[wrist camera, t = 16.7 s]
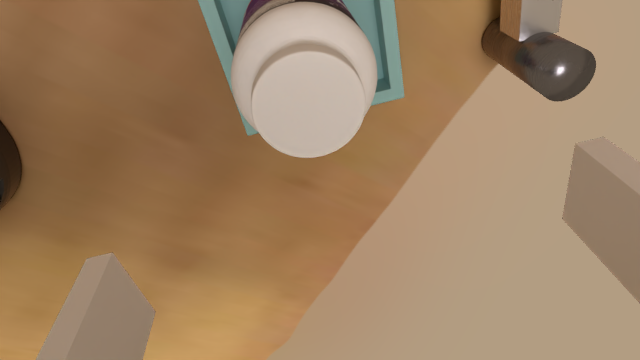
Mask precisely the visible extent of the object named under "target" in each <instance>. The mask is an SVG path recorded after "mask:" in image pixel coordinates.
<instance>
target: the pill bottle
mask: <svg viewBox="0 0 640 360" xmlns="http://www.w3.org/2000/svg"><path fill="white" fill-rule="evenodd" d="M231 86H232V91H233V96H234V99H235V101H236V104H237V106H238V108H239V110H240V112H241V113H242V115H243V116H244V118H245V119H246V120H247V122H248V123H249V124H250V125H251V126H252V127H253V128H254V129H255V130H256V131H257V132H259V133H260V135H261V136H262V138H263V139H264V140H265V141H266V142H267V143H268V144H269V145H271V146H272V147H273V148H275V149H276V150H278V151H280V152H282V153H284V154H287V155H290V156H294V157H300V158H314V157H320V156H324V155H327V154H330V153H332V152H335V151H336V150H338V149H340V148H341V147H343V146H344V145H345V144H347V143H348V142H349V141H350V140H351V139H352V138H353V137H354V135H355V134H356V132H357V131H358V129H359V128H360V126H361V124H362V121H363V118H364V116H365V115H366V113H367V111H368V110H369V108H370V106H371V103H372V101H373V98H374V95H375V91H376V86H377V63H376V58H375V55H374V51H373V49H372V46H371V44H370V42H369V41H368V39H367V37H366V35H365V34H364V32H363V31H362V29H361V28H360V26H359V25H358V24H357V22H356V21H355V19H354V18H353V16H352V14H351V13H350V11H349V10H348V9H347V7H346V6H345V4H344V3H343V1H342V0H251V1H250V3H249V5H248V7H247V9H246V12H245V14H244V18H243V22H242V26H241V30H240V34H239V38H238V41H237V45H236V49H235V52H234V56H233V60H232V66H231Z"/></svg>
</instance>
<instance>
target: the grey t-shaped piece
mask: <svg viewBox="0 0 640 360" xmlns="http://www.w3.org/2000/svg"><path fill="white" fill-rule="evenodd" d="M561 7H562V0H501V14H500V17H499V18H497V19H496V20H494V21H493V22H492V23H491V24H490V25H489V26H488V28H487V29H486V31H485V33H484V36H483V41H482V45H483V49H484V51H485V53H486V54H487V55H488V56H489V57H491V58H492V59H493V60H495V61H496V62H498V63H499V64H500V65H502V66H503V67H504V68H506V69H507V70H509V71H510V72H511V73H513V74H514V75H516V76H517V77H518V78H520V79H521V80H523V81H524V82H525V83H527V84H528V85H529V86H531V87H532V88H533V89H535V90H536V91H538V92H539V93H540V94H542V95H543V96H544V97H546V98H547V99H549V100H552V101H564V100H568V99H570V98H572V97H574V96H576V95H577V94H579V93H580V92H581V91H583V90H584V89H585V88H586V86H587V85H588V84H589V83H590V81H591V79H592V77H593V75H594V73H595V68H596V61H595V58H594V56H593V54H592V53H591V52H590V51H588V50H587V49H584V48H582V47H580V46H578V45H576V44H574V43H572V42H570V41H568V40H566V39H564V38H561V37H559V36H557V35H555V34H553V33H556V32H559V23H560V15H561Z"/></svg>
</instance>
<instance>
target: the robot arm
mask: <svg viewBox="0 0 640 360" xmlns="http://www.w3.org/2000/svg"><path fill="white" fill-rule="evenodd" d="M20 178H21V163H20V158H19V154H18V151H17V149H16V146H15V144H14V142H13V140H12V138H11V137H10V135H9V133H8V132H7V131H6V129H5V128H4V126H3V125H2V124H1V123H0V210H1V209H2V207H3V206H4V205H5V204H6V203H7V202H8V201H9V200H10V198H11V197H12V196H13V195H14V193H15V192H16V190H17V188H18V185H19V182H20ZM562 219H563V220H564V221H565V222H566V223H567V224H568V226H569V227H570V228H571V229H572V230H573V231H574V232H575V233H576V234H577V235H578V236H579V238H580V239H581V240H582V241H583V242H584V243H585V244H586V245H587V246H588V247H589V248H590V249H591V251H592V252H593V253H594V254H595V255H596V256H597V257H598V258H599V259H600V260H601V262H602V263H603V264H604V265H605V266H606V267H607V268H608V269H609V270H610V271H611V272H612V274H613V275H614V276H615V277H616V278H617V279H618V280H619V281H620V282H621V283H622V284H623V286H624V287H625V288H626V289H627V290H628V291H629V292H630V293H631V294H632V295H633V296H634V298H635V299H636V300H637V301H638V302H639V303H640V162H638V161H637V160H635V159H634V158H633V157H631V156H630V155H629V154H627V153H626V152H624V151H623V150H622V149H620V148H619V147H617V146H616V145H615V144H613V143H612V142H610V141H609V140H608V139H606V138H605V137H600V138H596V139H592V140H588V141H584V142H579V143H576V144H575V148H574V154H573V161H572V165H571V171H570V177H569V183H568V188H567V194H566V200H565V206H564V212H563V217H562ZM154 316H155V310H154V309H153V307H152V306H151V305H150V303H149V302H148V301H147V299H146V298H145V296H144V295H143V294H142V292H141V291H140V290H139V288H138V287H137V285H136V284H135V283H134V281H133V280H132V279H131V277H130V276H129V274H128V273H127V272H126V270H125V269H124V268H123V266H122V265H121V263H120V262H119V261H118V259H117V258H116V256H115V255H114V254H113V252H112V253H108V254H104V255H99V256H95V257H91V258H87V259H86V261H85V263H84V265H83V267H82V269H81V271H80V273H79V275H78V277H77V279H76V281H75V283H74V285H73V287H72V289H71V291H70V293H69V295H68V297H67V299H66V301H65V303H64V304H63V306H62V308H61V310H60V312H59V314H58V316H57V318H56V320H55V322H54V324H53V326H52V328H51V330H50V332H49V334H48V336H47V338H46V340H45V342H44V344H43V346H42V348H41V350H40V352H39V354H38V356H37V358H36V360H143V356H144V352H145V349H146V345H147V341H148V338H149V334H150V330H151V327H152V323H153V319H154Z"/></svg>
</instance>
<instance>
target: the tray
mask: <svg viewBox="0 0 640 360" xmlns="http://www.w3.org/2000/svg"><path fill="white" fill-rule="evenodd" d="M250 1H251V0H198V2H199V5H200V7H201V10H202V13H203V16H204V18H205V21H206V24H207V26H208V29H209V32H210V35H211V37H212V40H213V43H214V45H215V48H216V51H217V54H218V56H219V59H220V62H221V64H222V67H223V70H224V73H225V75H226V78H227V81H228V83H229V86H230V89H231V92H232V94H233V91H232V86H231V66H232V60H233V56H234V52H235V49H236V45H237V41H238V38H239V34H240V30H241V26H242V22H243V18H244V14H245V12H246V9H247V7H248V5H249V3H250ZM342 1H343V3H344V4H345V6H346V7H347V9H348V10H349V11H350V13H351V14H352V16H353V18H354V19H355V21H356V22H357V24H358V25H359V26H360V28H361V29H362V31H363V32H364V34H365V35H366V37H367V39H368V41H369V42H370V44H371V46H372V49H373V51H374V55H375V58H376V63H377V86H376V91H375V95H374V98H373V101H372V103H371V106H372V105H376V104H380V103H384V102H388V101H392V100H396V99H400V98H404V89H403V79H402V70H401V60H400V51H399V41H398V32H397V22H396V13H395V3H394V0H342ZM233 97H234V96H233ZM234 100H235V99H234ZM235 102H236V101H235ZM236 105H237V104H236ZM237 108H238V106H237ZM238 111H239V113H240V116H241V119H242V121H243V124H244V127H245V130H246V132H247V135H248V136H249V135H253V134H257V133H259V132H257V131H256V130H255V129H254V128H253V127H252V126H251V125H250V124H249V123H248V122H247V120H246V119H245V118H244V116H243V115H242V113H241V112H240V110H239V108H238Z"/></svg>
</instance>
